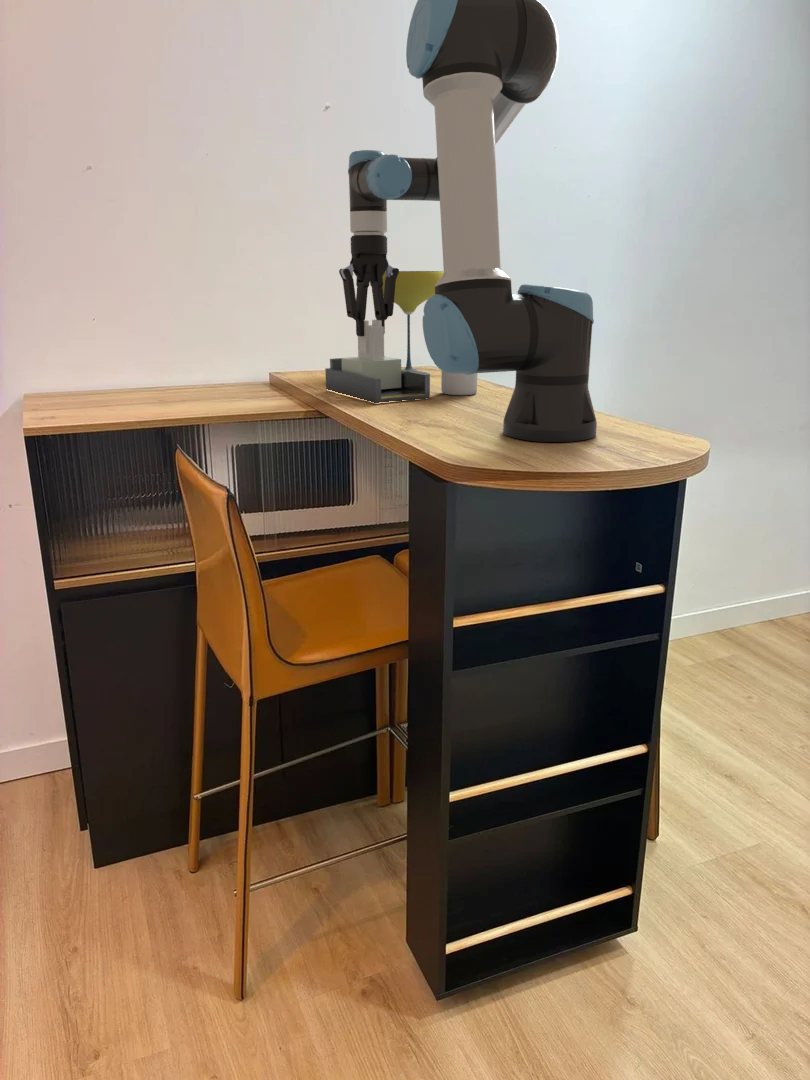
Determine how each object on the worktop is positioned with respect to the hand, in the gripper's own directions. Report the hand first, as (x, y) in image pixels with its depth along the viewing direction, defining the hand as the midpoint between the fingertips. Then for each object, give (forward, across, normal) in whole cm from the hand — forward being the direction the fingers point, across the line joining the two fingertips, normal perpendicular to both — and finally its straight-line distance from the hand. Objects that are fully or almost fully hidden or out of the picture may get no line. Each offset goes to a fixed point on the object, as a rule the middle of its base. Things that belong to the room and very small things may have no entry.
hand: (370, 351), depth 176 cm
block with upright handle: (+7, 0, 0) cm, 7 cm away
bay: (+9, 0, +2) cm, 9 cm away
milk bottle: (+9, -16, +10) cm, 21 cm away
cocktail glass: (+9, -23, -22) cm, 33 cm away
